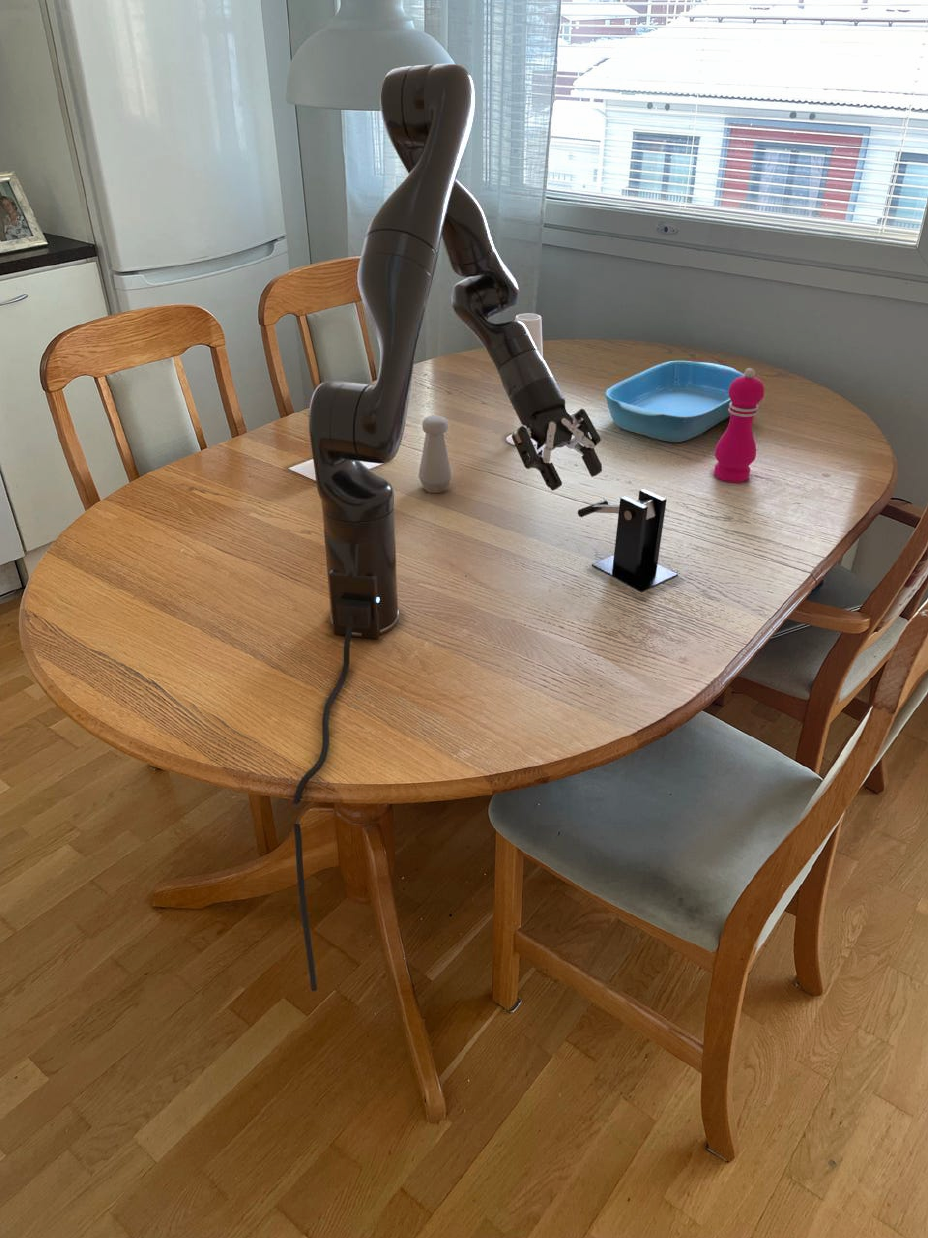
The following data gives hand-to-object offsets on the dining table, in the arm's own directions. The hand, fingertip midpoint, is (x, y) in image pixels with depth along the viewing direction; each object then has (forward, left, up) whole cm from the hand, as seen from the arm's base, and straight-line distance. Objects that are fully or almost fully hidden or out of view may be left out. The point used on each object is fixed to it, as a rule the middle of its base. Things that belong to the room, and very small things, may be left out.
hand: (577, 480), depth 141 cm
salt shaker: (+16, +26, -11) cm, 32 cm away
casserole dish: (+61, -16, -11) cm, 64 cm away
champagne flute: (+42, +14, -11) cm, 45 cm away
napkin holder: (+22, +46, -11) cm, 52 cm away
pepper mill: (+33, -26, -11) cm, 43 cm away
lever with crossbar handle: (-6, -7, -3) cm, 10 cm away
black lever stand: (-8, -10, -11) cm, 17 cm away
